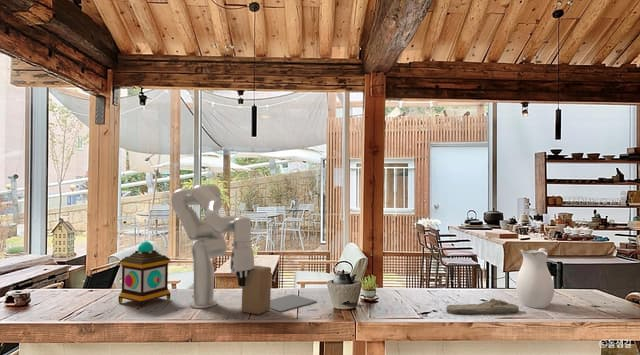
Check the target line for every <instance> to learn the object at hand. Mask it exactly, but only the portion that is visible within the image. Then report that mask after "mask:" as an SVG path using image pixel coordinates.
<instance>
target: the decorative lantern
mask: <svg viewBox="0 0 640 355" xmlns="http://www.w3.org/2000/svg"><path fill="white" fill-rule="evenodd" d="M170 261H171V258H169V257H168V256H166V255H164V254H161V253H159V252H157V250H156V249H155V250H154V246H153V244H152V243H151V242H149V241H147V240H145V241H143V242H141V243H140V244H139V246H138V248H137V250H135V251H134V252H133V253H132V254H130V255H128V256H125V257H124V258H121V260H120V261H119V263H120V265H121V271H122V272H121V291H120V293H119V295H118V299H117V301H118V304H122V303H123V301H124V300H128V301H133V302H137V303H138V305H139V308H140V309H142V308H143V307H144V303H145V302H148V301H151V300H155V299H156V300H157V299H159V298H162V297H165V298H166V300H167V301H170V299H171V292H170V290H169V289H168V288H169V287H168V284H169V283H168V282H169V280H168V277H169V276H168V275H169V264H170ZM123 299H124V300H123Z"/></svg>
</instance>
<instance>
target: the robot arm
mask: <svg viewBox="0 0 640 355" xmlns="http://www.w3.org/2000/svg"><path fill="white" fill-rule="evenodd" d="M221 194H222V192H221V189H220V188H219V186H217V185H215V184H198V185H195V186H194V187H193V188H181V189H176V190H175V191H173V193H172V195H171V198H170V199H171V201H170V202H171V207H172V209H173V211H174V213H175V215H176V216H177V218H178V219H179V221H180V222H181V224H182V227H183V229H184V231H185V233H186V235H187V237H188V239H189V240H190V241H194V243H193V244H192V247H191V254H192V260H193V294H192V295H191V298H192V299H193V300H191V301H190V303H189V306H190V307H191V308H195V309H207V308H212V307H215V306H216V305H217V304H218V301H217V300H216V299H215V298H214V297H215V295H214V294H215V293H214V291H215V268H214V264H213V262H212V260H211V259H212V258H213V259H215V258H219V257H223V256H225V255H226V253H227V251H228V246H227V243H226V240H225V238H224V236H223V234H229V233H233V242H232V243H231V247H233V248H232V249H231V254H230V263H229V264H230V265H229V266H230V274H232V275H235V276H236V277H237V285H238V286H239V287H243V286H245V283H246V277H247V274H248V273H249V272H250V270H251V269H253V268H254V266H255V258H254V250H253V247H252V246H251V244H252V243H251V241H252V236H251V235H252V230H251V229H252V228H251V227H252V220H251V218H249V217H246V216H238V215H228V216H225V215H224V216H220V215H219V214H218V212H219V211H220V210H221V208H222V205H223V203H222V201H221V199H220V198H221V196H222V195H221ZM190 206H200V207H201V208H202V209H203V210H204V211H205V220H201V219H200V218H199V216H198V213H197V212H196V211H195V210H194V209H193V208H191V207H190ZM195 241H196V242H195Z"/></svg>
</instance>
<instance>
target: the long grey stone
mask: <svg viewBox="0 0 640 355" xmlns="http://www.w3.org/2000/svg"><path fill="white" fill-rule="evenodd" d="M519 308H520V307H519V305H517V304H514V303H509V302H507V301H505V300H501V299H495V298H491V299H489V300H488V301H483V302H482V303H473V304H472V303H471V304H469V303H467V304H463V303H462V304H448V305H447V306H446V309H445V310H446V313H447V314H451V315H456V314H457V315H491V314H494V315H502V314H504V313H510V314H511V313H517V312H519V311H520V309H519Z"/></svg>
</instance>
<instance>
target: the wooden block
mask: <svg viewBox="0 0 640 355" xmlns="http://www.w3.org/2000/svg"><path fill="white" fill-rule="evenodd" d="M271 285H272V267H270V266H261V265H254V268H253V269H251V270H250V272H249V273H248V274H247V277H246V283H245V286H243V287H242V290H241V292H242V293H241V311H242V312H243V313H249V314H252V315H253V314H254V315H261V314H263V313H265V312H268V311H269V310H271V309H270V300H271V296H272V295H271V292H272V291H271V290H272V289H271V288H272V286H271Z"/></svg>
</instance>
